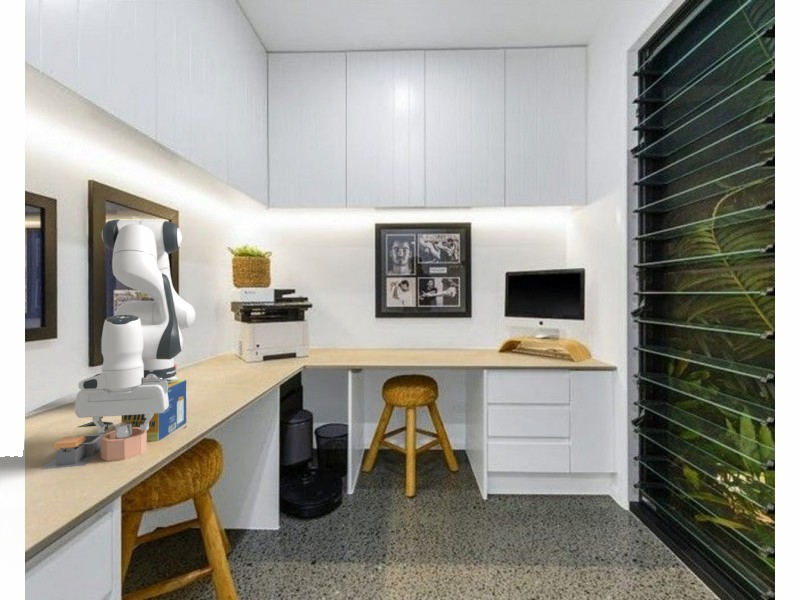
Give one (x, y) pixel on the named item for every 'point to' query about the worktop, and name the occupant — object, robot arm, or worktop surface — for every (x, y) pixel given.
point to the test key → (70, 442)
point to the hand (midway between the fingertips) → (124, 431)
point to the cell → (123, 430)
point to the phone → (94, 424)
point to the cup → (123, 445)
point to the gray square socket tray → (78, 453)
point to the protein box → (165, 413)
